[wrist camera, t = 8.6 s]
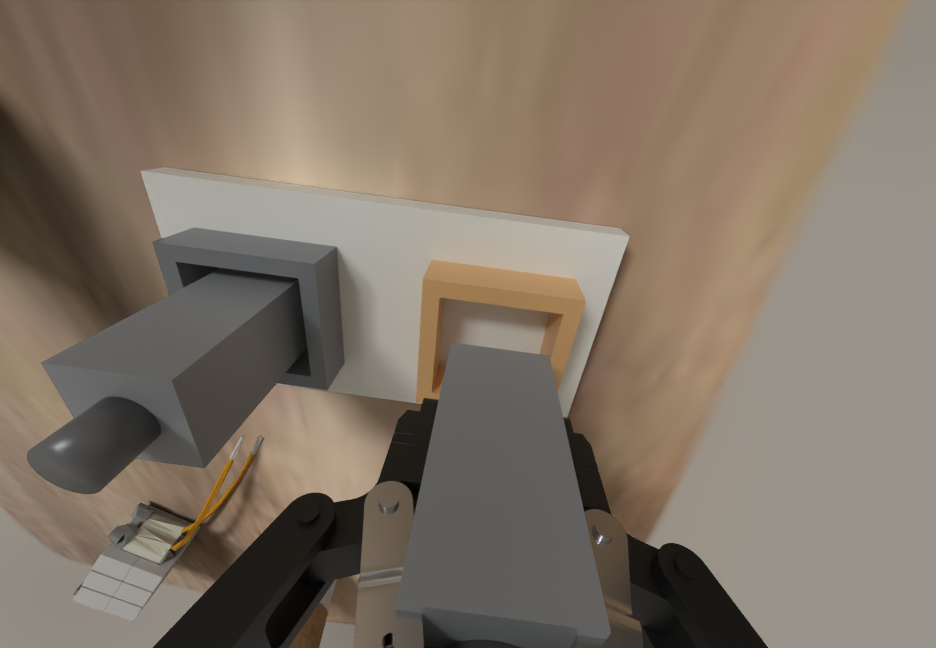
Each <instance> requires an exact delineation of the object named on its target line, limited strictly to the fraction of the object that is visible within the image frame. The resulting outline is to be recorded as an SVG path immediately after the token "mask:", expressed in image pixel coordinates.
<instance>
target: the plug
mask: <svg viewBox="0 0 936 648" xmlns="http://www.w3.org/2000/svg"><path fill="white" fill-rule="evenodd" d="M396 610H403V611H410V612H417V613H422V624H423V640H424V646H427V647H434V648H570V646H571V645H572V643H573V641H574V640H575V638H576V637H577V635H581V636H588V637H595V638H602V639H607V638H608V636H609V635H610V634H611V630H610V625H609V621H608V616H607V612H606V607H605V603H604V598H603V594H602V589H601V585H600V580H599V576H598V571H597V567H596V562H595V558H594V554H593V549H592V545H591V540H590V536H589V531H588V527H587V522H586V518H585V513H584V509H583V504H582V500H581V495H580V491H579V486H578V482H577V477H576V473H575V469H574V464H573V460H572V455H571V451H570V446H569V442H568V437H567V433H566V428H565V424H564V419H563V415H562V410H561V406H560V401H559V397H558V392H557V388H556V384H555V379H554V375H553V370H552V366H551V361H550V357H549V356H548V355H541V354H534V353H526V352H519V351H512V350H504V349H497V348H489V347H482V346H475V345H467V344H460V343H453V342H451V344H450V349H449V354H448V359H447V363H446V368H445V373H444V377H443V382H442V387H441V392H440V396H439V401H438V406H437V411H436V415H435V420H434V425H433V429H432V434H431V439H430V444H429V448H428V453H427V458H426V463H425V467H424V472H423V477H422V481H421V486H420V491H419V496H418V500H417V505H416V510H415V515H414V519H413V524H412V529H411V534H410V538H409V543H408V548H407V552H406V557H405V562H404V567H403V571H402V576H401V581H400V586H399V590H398V595H397V600H396Z"/></svg>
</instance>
